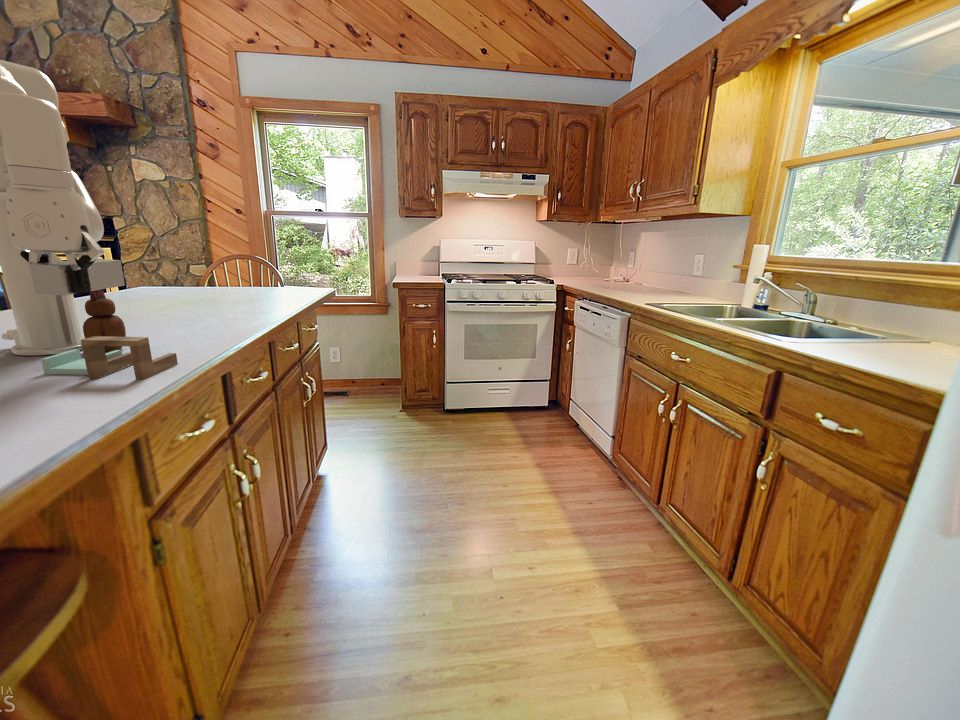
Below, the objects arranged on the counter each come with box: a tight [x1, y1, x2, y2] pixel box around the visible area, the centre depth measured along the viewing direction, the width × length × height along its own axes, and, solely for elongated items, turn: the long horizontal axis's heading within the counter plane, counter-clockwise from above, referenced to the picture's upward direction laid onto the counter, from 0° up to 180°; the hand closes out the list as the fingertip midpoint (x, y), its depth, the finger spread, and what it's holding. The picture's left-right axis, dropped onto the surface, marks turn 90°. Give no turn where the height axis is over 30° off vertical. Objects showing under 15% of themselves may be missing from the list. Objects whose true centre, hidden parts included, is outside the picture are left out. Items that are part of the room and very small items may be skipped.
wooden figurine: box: [82, 289, 127, 353], centre depth 91 cm, size 7×6×15 cm
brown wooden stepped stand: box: [81, 336, 179, 380], centre depth 79 cm, size 9×10×7 cm
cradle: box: [40, 349, 123, 375], centre depth 80 cm, size 9×7×3 cm
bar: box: [29, 258, 126, 295], centre depth 79 cm, size 5×14×5 cm, turn 4°
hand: (66, 290), depth 76 cm, fingers closed on bar, 4 cm apart
